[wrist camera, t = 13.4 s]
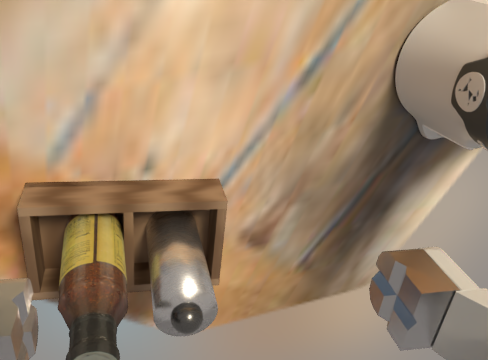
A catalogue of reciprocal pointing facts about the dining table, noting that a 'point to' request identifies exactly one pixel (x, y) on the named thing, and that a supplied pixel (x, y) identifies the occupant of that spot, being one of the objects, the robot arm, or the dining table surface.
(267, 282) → the dining table surface
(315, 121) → the dining table surface
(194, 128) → the dining table surface
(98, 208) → the condiment caddy
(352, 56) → the dining table surface
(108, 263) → the sauce bottle
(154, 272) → the pepper mill
